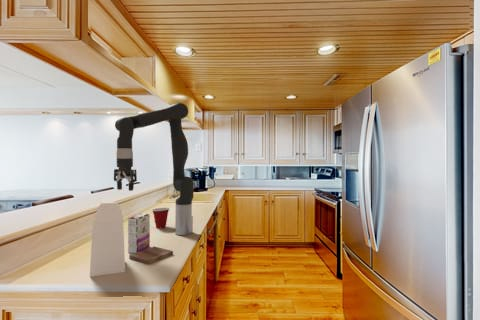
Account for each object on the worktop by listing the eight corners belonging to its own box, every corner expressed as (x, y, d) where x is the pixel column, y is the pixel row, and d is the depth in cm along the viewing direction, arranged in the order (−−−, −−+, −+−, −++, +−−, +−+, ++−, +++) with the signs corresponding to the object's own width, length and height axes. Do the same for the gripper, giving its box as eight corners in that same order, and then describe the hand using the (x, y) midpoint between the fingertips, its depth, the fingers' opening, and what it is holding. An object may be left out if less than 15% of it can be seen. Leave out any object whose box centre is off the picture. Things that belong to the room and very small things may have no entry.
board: (154, 249, 131) (154, 246, 131) (172, 254, 125) (172, 250, 125) (129, 258, 119) (129, 255, 119) (148, 264, 113) (148, 260, 113)
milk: (89, 276, 100) (90, 205, 100) (92, 265, 111) (93, 201, 111) (125, 271, 105) (125, 203, 105) (124, 261, 116) (125, 199, 116)
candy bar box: (140, 245, 136) (141, 212, 136) (149, 246, 135) (150, 213, 135) (127, 253, 125) (127, 217, 125) (137, 254, 124) (137, 218, 124)
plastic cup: (158, 224, 180) (158, 206, 180) (172, 226, 177) (172, 207, 177) (147, 228, 170) (148, 209, 170) (162, 230, 167) (163, 210, 167)
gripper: (140, 157, 137) (141, 190, 137) (121, 157, 144) (122, 188, 144) (128, 157, 130) (128, 191, 130) (108, 157, 137) (109, 190, 137)
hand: (125, 190), depth 137 cm, fingers open, 8 cm apart
